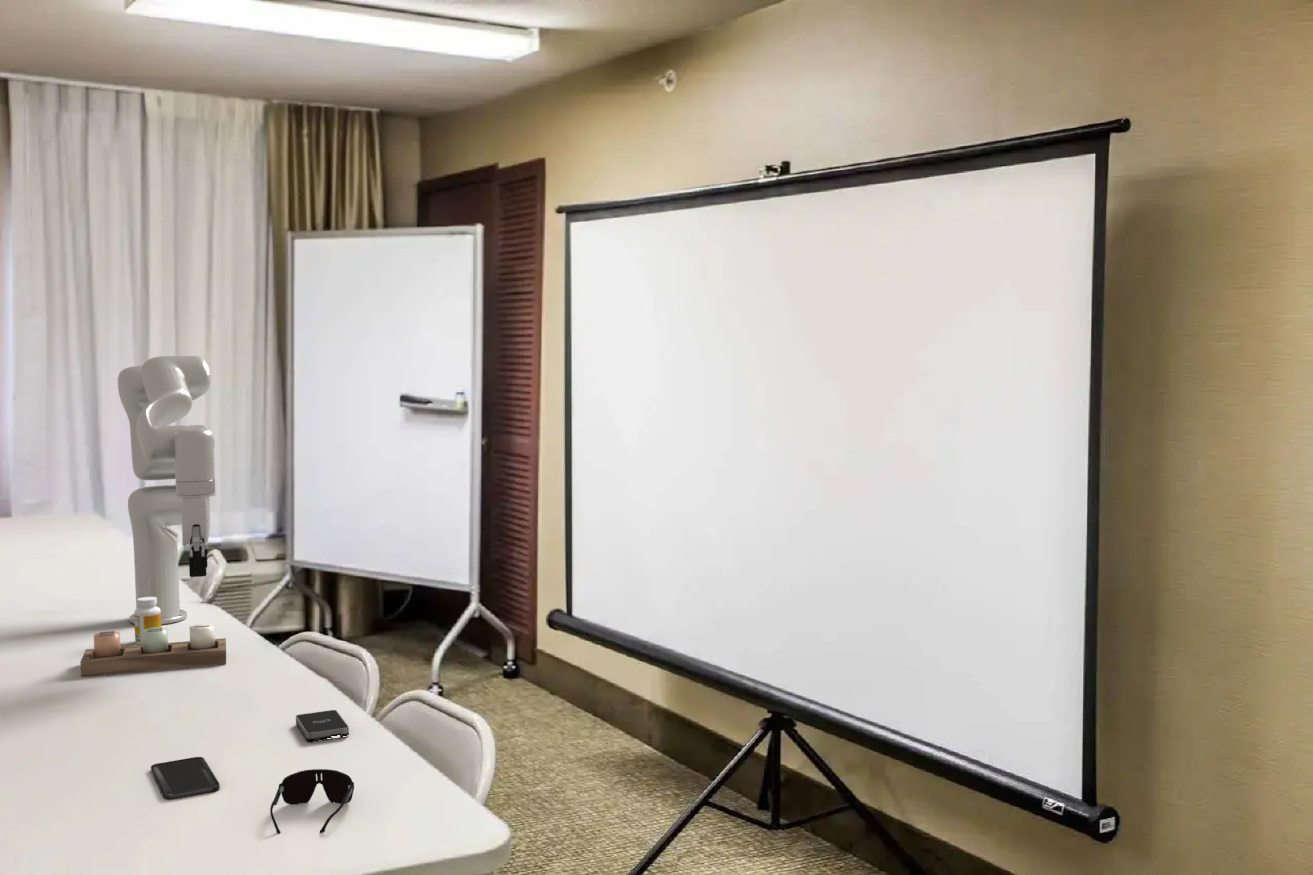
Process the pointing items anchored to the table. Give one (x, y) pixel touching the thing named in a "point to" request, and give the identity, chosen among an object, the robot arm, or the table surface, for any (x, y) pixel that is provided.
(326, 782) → the sunglasses
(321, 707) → the table surface
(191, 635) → the button
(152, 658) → the button board
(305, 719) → the external hard drive
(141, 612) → the supplement bottle
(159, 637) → the button
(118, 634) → the button
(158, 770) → the phone
